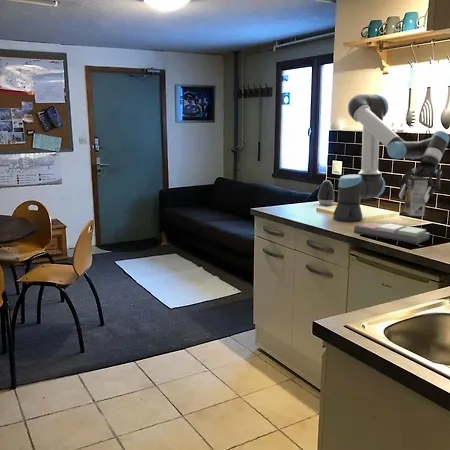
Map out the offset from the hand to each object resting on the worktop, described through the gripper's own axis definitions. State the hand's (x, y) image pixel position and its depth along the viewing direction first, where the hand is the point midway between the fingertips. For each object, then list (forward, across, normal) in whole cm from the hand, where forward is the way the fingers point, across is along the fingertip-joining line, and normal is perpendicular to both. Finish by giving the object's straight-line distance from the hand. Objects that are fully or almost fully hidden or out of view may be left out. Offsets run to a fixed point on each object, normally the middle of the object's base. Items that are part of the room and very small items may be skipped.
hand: (412, 198), depth 212 cm
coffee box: (+3, 0, -7) cm, 8 cm away
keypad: (+11, +10, -15) cm, 21 cm away
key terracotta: (+10, +19, -15) cm, 26 cm away
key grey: (+10, +10, -14) cm, 19 cm away
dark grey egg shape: (-24, +76, -51) cm, 94 cm away
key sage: (+10, 0, -14) cm, 17 cm away
